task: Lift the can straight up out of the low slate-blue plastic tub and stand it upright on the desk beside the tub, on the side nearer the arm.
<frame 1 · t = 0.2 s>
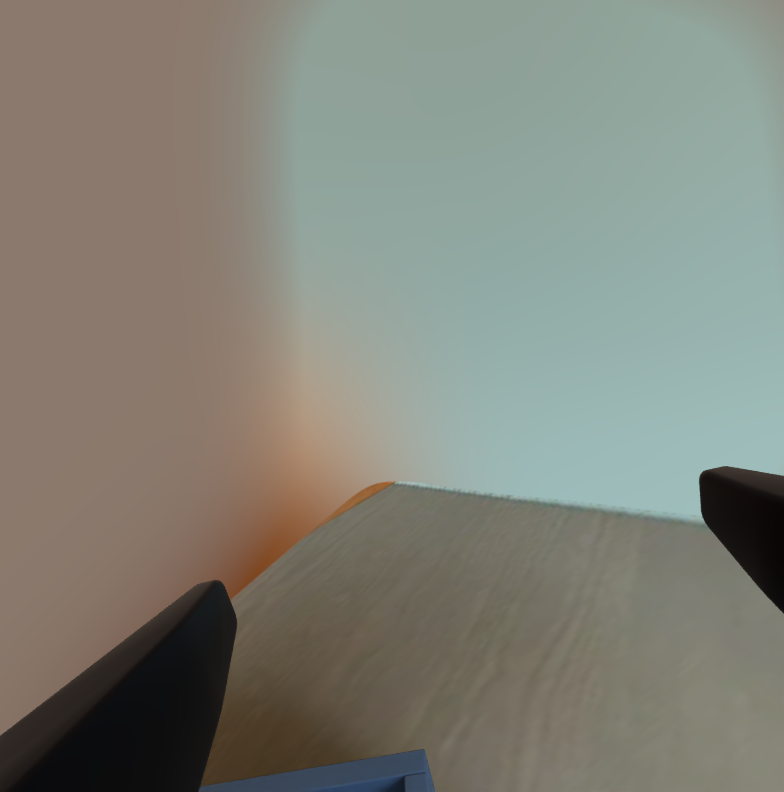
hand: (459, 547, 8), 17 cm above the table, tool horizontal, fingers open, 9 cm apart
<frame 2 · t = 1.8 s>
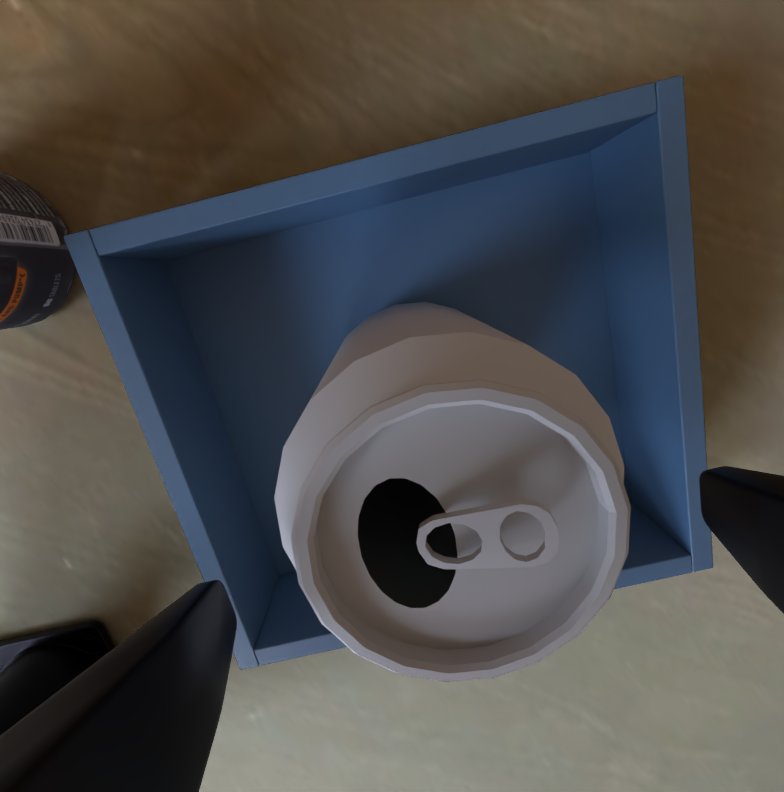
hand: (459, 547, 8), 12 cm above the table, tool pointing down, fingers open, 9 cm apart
tub: (415, 386, 20), on the table
pill bottle: (8, 251, 18), on the table
can: (415, 387, 20), resting on tub
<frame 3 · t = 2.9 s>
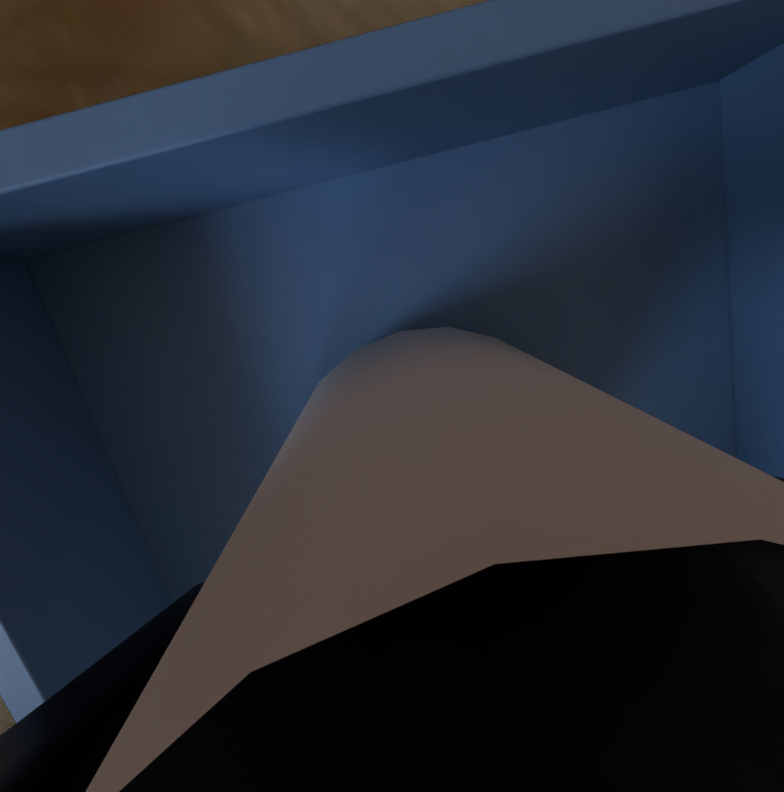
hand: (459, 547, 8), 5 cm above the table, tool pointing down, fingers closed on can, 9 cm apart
tub: (428, 454, 13), on the table
can: (429, 455, 13), resting on tub, touching gripper
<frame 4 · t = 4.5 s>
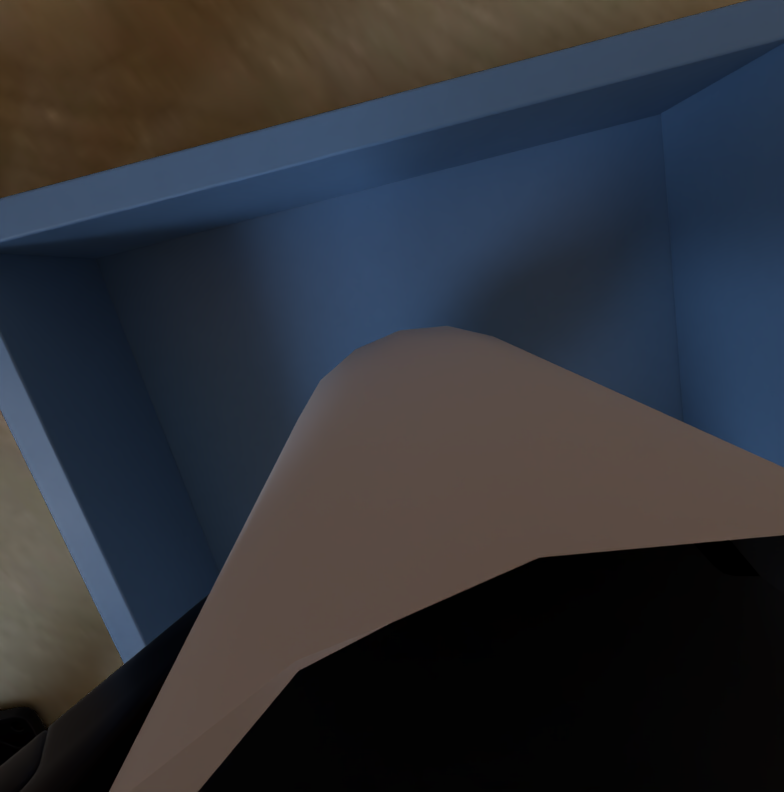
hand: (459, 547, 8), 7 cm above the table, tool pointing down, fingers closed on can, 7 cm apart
tub: (424, 422, 16), on the table
can: (428, 453, 13), point 3 cm above the table, touching gripper
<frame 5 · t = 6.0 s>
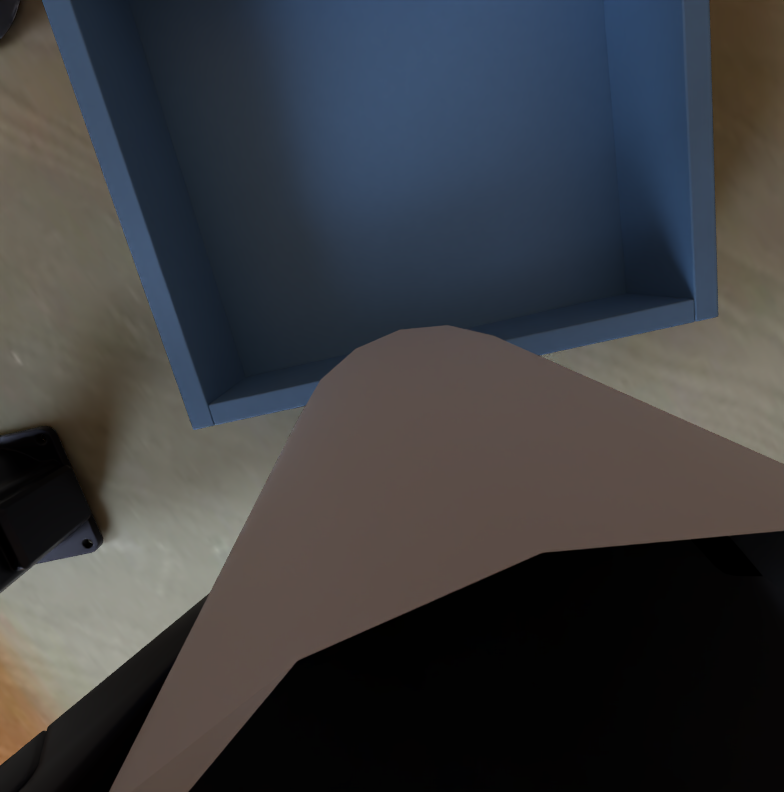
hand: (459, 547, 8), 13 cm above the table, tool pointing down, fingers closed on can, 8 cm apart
tub: (396, 152, 18), on the table
can: (428, 452, 13), point 8 cm above the table, touching gripper
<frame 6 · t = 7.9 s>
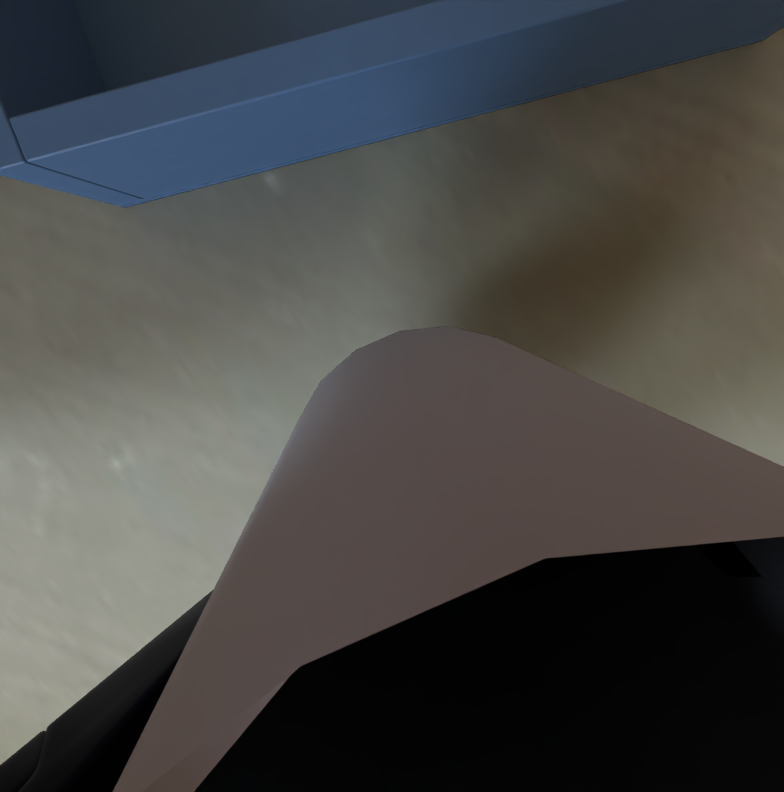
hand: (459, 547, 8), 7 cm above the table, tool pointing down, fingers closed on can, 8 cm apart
can: (428, 453, 13), point 2 cm above the table, touching gripper
when the fingers open (5 cm above the table, at t = 9.1 s): can stays where it is, on the table.
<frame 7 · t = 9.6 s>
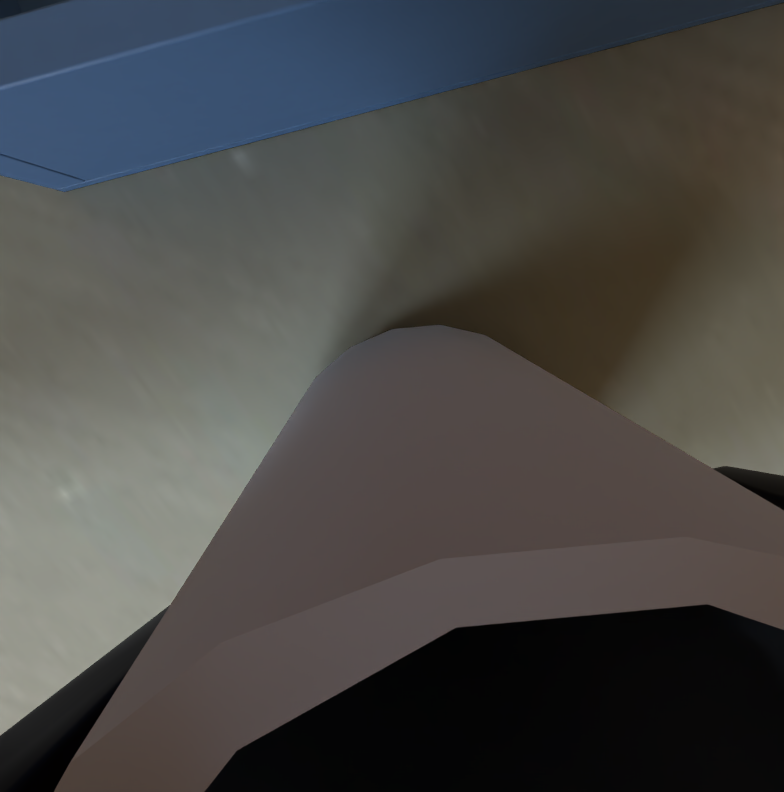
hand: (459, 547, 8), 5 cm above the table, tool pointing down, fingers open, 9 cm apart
can: (422, 449, 13), on the table
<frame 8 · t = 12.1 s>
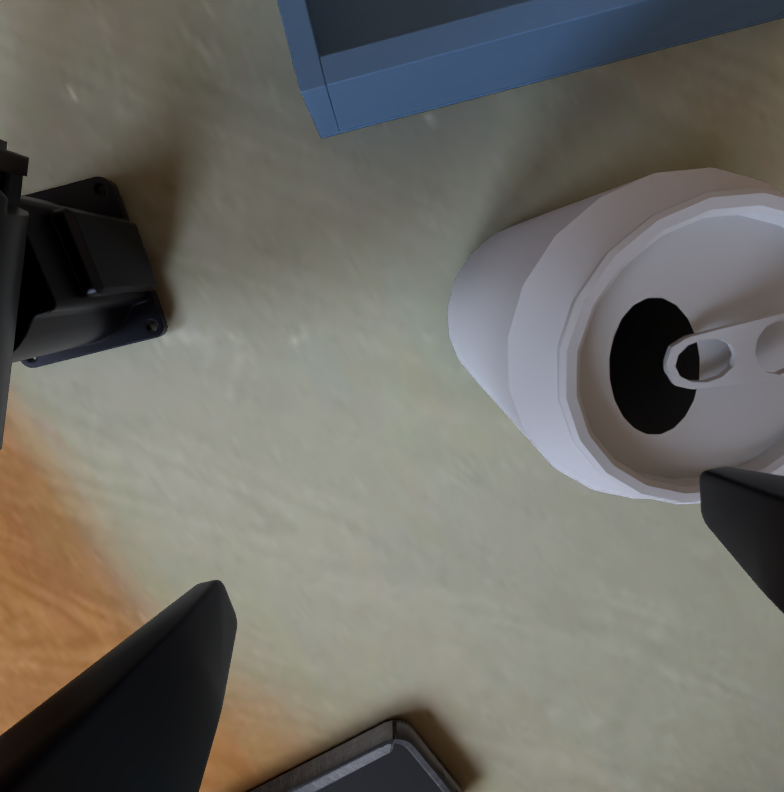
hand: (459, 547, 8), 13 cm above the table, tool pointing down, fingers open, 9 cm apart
can: (527, 311, 20), on the table
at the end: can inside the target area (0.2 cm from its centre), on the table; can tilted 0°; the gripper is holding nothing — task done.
